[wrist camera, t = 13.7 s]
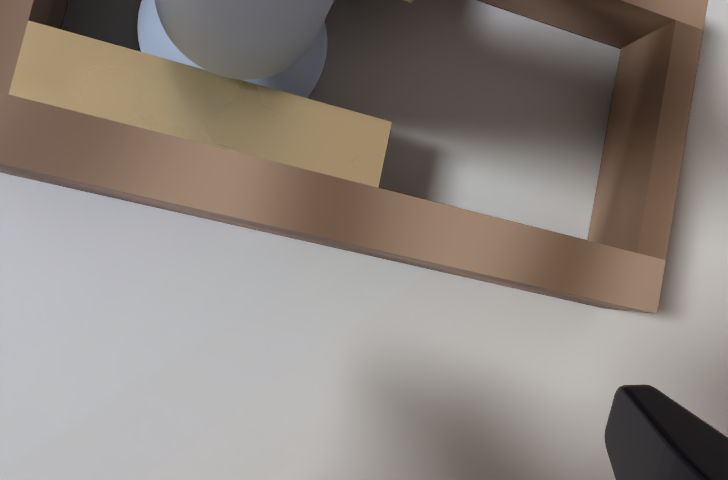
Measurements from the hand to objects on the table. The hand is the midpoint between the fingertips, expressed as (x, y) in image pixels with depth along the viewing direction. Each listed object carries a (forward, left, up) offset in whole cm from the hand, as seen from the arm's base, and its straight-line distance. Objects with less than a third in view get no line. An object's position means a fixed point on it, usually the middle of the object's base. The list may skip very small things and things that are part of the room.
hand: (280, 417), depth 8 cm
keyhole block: (+7, +4, -10) cm, 13 cm away
